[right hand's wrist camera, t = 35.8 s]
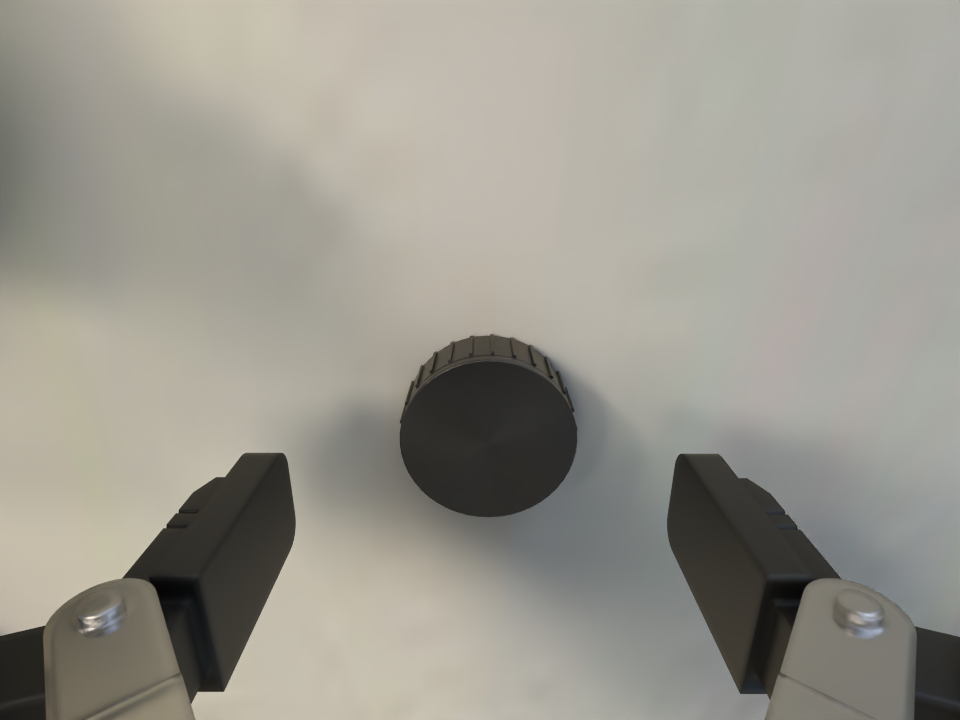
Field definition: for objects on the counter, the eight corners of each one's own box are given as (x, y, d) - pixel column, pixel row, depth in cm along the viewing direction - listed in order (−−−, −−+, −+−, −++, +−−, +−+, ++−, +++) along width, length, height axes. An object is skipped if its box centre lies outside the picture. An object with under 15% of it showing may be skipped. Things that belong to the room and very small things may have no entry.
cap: (601, 408, 16) (617, 441, 14) (488, 506, 17) (489, 548, 15) (486, 298, 15) (487, 319, 13) (373, 411, 16) (359, 445, 14)
